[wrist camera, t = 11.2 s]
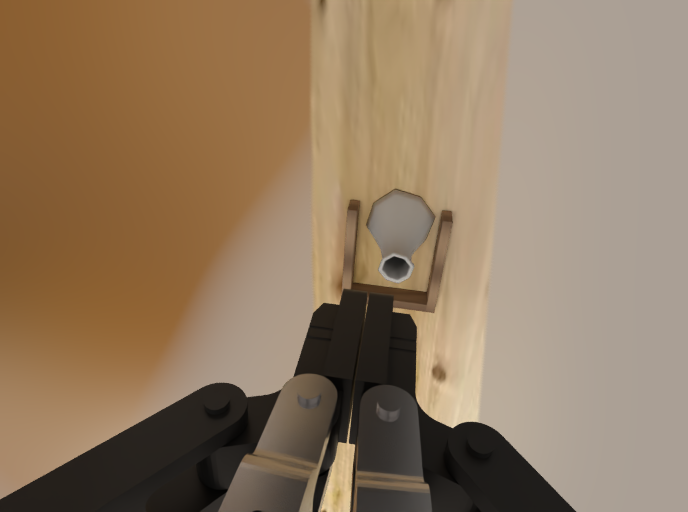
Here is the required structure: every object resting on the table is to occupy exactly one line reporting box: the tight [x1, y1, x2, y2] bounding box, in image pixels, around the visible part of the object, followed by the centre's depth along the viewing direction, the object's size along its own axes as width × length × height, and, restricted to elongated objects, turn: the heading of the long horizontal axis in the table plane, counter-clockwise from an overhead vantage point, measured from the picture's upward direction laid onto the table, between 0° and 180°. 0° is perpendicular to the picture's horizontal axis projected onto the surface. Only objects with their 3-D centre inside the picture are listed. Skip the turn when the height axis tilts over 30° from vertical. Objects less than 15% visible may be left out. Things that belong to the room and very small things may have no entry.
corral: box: [341, 200, 453, 313], centre depth 55 cm, size 12×11×2 cm
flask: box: [366, 189, 435, 284], centre depth 50 cm, size 7×7×10 cm
